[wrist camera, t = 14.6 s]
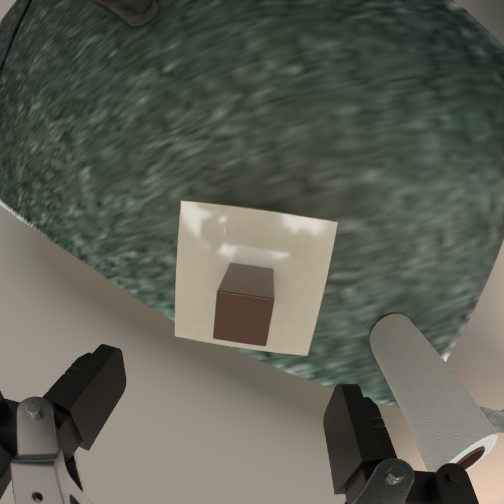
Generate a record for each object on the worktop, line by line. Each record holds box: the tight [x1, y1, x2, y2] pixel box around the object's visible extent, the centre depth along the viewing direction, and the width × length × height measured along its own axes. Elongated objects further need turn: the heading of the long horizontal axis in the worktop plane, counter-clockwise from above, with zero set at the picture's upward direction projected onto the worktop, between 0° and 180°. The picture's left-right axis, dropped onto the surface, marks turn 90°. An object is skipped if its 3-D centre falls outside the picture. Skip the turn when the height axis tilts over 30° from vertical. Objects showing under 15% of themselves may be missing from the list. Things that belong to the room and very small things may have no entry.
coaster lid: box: [175, 200, 338, 356], centre depth 18 cm, size 10×10×6 cm
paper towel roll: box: [369, 314, 498, 472], centre depth 22 cm, size 7×6×21 cm
